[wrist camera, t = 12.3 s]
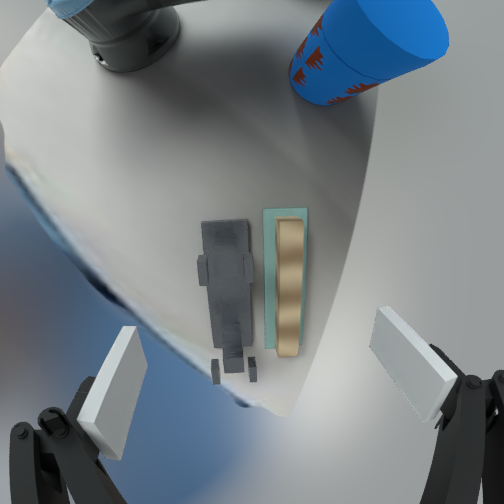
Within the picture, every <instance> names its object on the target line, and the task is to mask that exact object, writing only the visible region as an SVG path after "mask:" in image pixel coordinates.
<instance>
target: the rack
mask: <svg viewBox="0 0 504 504" xmlns="http://www.w3.org/2000/svg"><path fill="white" fill-rule="evenodd" d="M201 226H202V239H203V251H204V255H199V256H198V260H197V267H198V276H199V285H200V286H207V292H208V301H209V310H210V319H211V327H212V335H213V343H214V348H223V364H224V372H225V373H240V372H244V359H243V349H242V346H252V326H251V300H250V283H254V274H253V257H252V253H251V252H249V246H248V220H247V219H237V220H219V221H203V222H202V223H201ZM248 369H249V378H250V382H257V369H256V361H255V357H248ZM211 372H212V378H213V384H220V367H219V360H218V359H212V361H211Z"/></svg>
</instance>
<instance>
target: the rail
mask: <svg viewBox="0 0 504 504" xmlns="http://www.w3.org/2000/svg"><path fill="white" fill-rule="evenodd" d="M303 239H304V221H303V220H302V219H301V218H299V217H298V216H279V217H275V347H276V351H277V354H278V358H280V357H289V356H298V345H299V331H300V315H301V297H302V273H303Z"/></svg>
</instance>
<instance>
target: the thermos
mask: <svg viewBox="0 0 504 504" xmlns="http://www.w3.org/2000/svg"><path fill="white" fill-rule="evenodd" d="M448 46H449V36H448V30H447V27H446V25H445V22H444V19H443V18H442V16H441V14H440V13H439V11H438V9H437V8H436V6H435V5H434V3H433V2H432V1H431V0H333V1H332V3H331V4H330V5H329V7H328V8H327V9H326V11H325V12H324V13H323V15H322V16H321V17H320V19H319V20H318V22H317V23H316V24H315V26H314V27H313V28H312V30H311V31H310V33H309V34H308V36H307V37H306V38H305V40H304V41H303V43H302V44H301V46H300V47H299V49H298V50H297V52H296V53H295V55H294V57H293V59H292V61H291V63H290V68H289V78H290V82H291V84H292V86H293V87H294V89H295V91H296V92H297V93H298V94H299V95H300V96H301V97H302V98H304V99H305V100H307V101H309V102H311V103H313V104H318V105H324V106H326V105H331V104H336V103H339V102H342V101H345V100H347V99H349V98H351V97H353V96H355V95H357V94H359V93H361V92H364V91H366V90H368V89H370V88H372V87H375V86H377V85H379V84H381V83H384V82H386V81H388V80H391V79H393V78H395V77H398V76H400V75H403V74H405V73H408V72H410V71H413V70H416V69H418V68H421V67H424V66H426V65H428V64H430V63H431V62H433V61H435V60H437V59H438V58H440V57H442V56H443V55H445V53H446V51H447V49H448Z"/></svg>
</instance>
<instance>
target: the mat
mask: <svg viewBox="0 0 504 504" xmlns="http://www.w3.org/2000/svg"><path fill="white" fill-rule="evenodd" d="M279 216H298V217H299V218H301V219H302V220H303V221H304V239H303V273H302V297H301V315H300V331H299V345H302V331H303V317H304V300H305V280H306V254H307V208H306V207H303V208H270V209H263V242H264V300H265V349H269V348H276V347H275V217H279Z"/></svg>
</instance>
